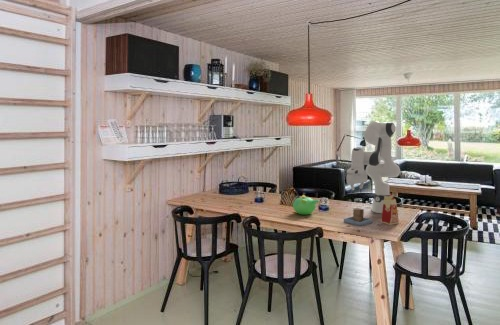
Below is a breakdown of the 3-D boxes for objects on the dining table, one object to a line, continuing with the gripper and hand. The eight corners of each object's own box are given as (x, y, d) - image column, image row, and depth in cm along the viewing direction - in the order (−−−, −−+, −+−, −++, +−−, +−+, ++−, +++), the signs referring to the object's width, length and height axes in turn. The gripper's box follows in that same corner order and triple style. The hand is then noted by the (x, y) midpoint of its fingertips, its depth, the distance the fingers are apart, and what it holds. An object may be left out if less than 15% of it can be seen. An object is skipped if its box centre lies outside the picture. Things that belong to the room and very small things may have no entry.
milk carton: (398, 223, 256) (399, 195, 254) (390, 225, 251) (391, 196, 249) (387, 220, 264) (388, 193, 262) (379, 222, 259) (380, 194, 257)
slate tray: (355, 219, 268) (355, 215, 268) (372, 222, 257) (372, 219, 257) (343, 222, 260) (343, 218, 259) (360, 226, 248) (360, 222, 248)
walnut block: (357, 220, 262) (357, 208, 261) (363, 221, 258) (363, 209, 257) (353, 221, 259) (353, 209, 258) (359, 222, 255) (359, 210, 254)
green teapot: (308, 211, 295) (308, 193, 294) (320, 215, 280) (320, 196, 278) (289, 213, 287) (289, 195, 286) (300, 217, 272) (301, 198, 271)
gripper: (362, 168, 267) (362, 187, 269) (345, 171, 255) (344, 190, 256) (369, 169, 262) (369, 188, 264) (352, 172, 250) (352, 191, 251)
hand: (357, 189), depth 260 cm, fingers open, 8 cm apart
